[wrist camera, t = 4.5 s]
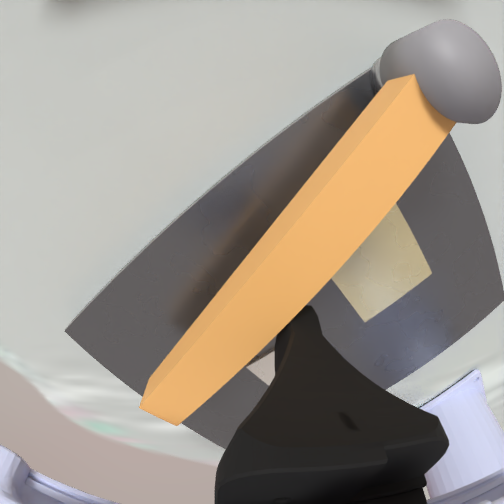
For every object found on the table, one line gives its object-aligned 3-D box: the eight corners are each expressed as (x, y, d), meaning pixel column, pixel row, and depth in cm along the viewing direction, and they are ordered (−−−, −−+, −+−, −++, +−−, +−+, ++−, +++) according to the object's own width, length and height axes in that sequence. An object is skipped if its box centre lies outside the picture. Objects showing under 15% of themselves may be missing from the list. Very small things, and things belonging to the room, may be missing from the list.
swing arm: (407, 23, 7) (449, 1, 4) (463, 83, 8) (513, 81, 5) (140, 364, 13) (123, 410, 10) (196, 393, 13) (187, 440, 11)
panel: (498, 289, 14) (519, 309, 12) (239, 445, 20) (238, 471, 18) (389, 50, 10) (416, 38, 7) (69, 318, 15) (50, 343, 13)
